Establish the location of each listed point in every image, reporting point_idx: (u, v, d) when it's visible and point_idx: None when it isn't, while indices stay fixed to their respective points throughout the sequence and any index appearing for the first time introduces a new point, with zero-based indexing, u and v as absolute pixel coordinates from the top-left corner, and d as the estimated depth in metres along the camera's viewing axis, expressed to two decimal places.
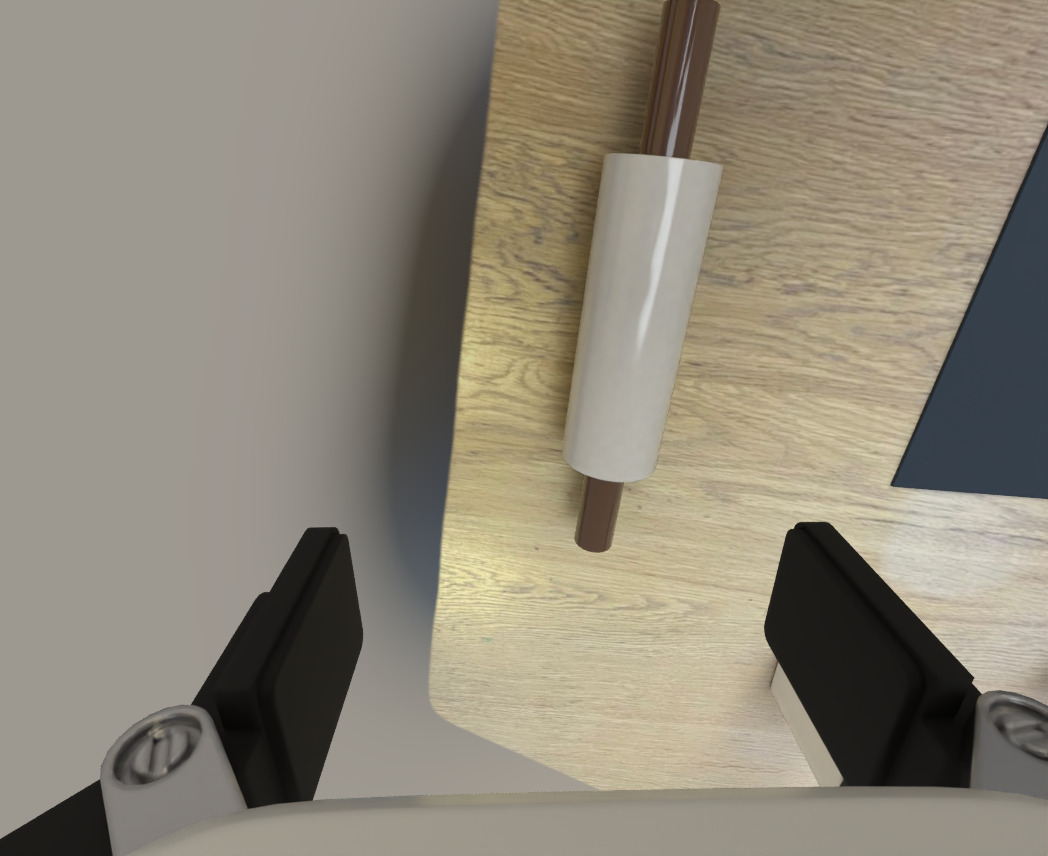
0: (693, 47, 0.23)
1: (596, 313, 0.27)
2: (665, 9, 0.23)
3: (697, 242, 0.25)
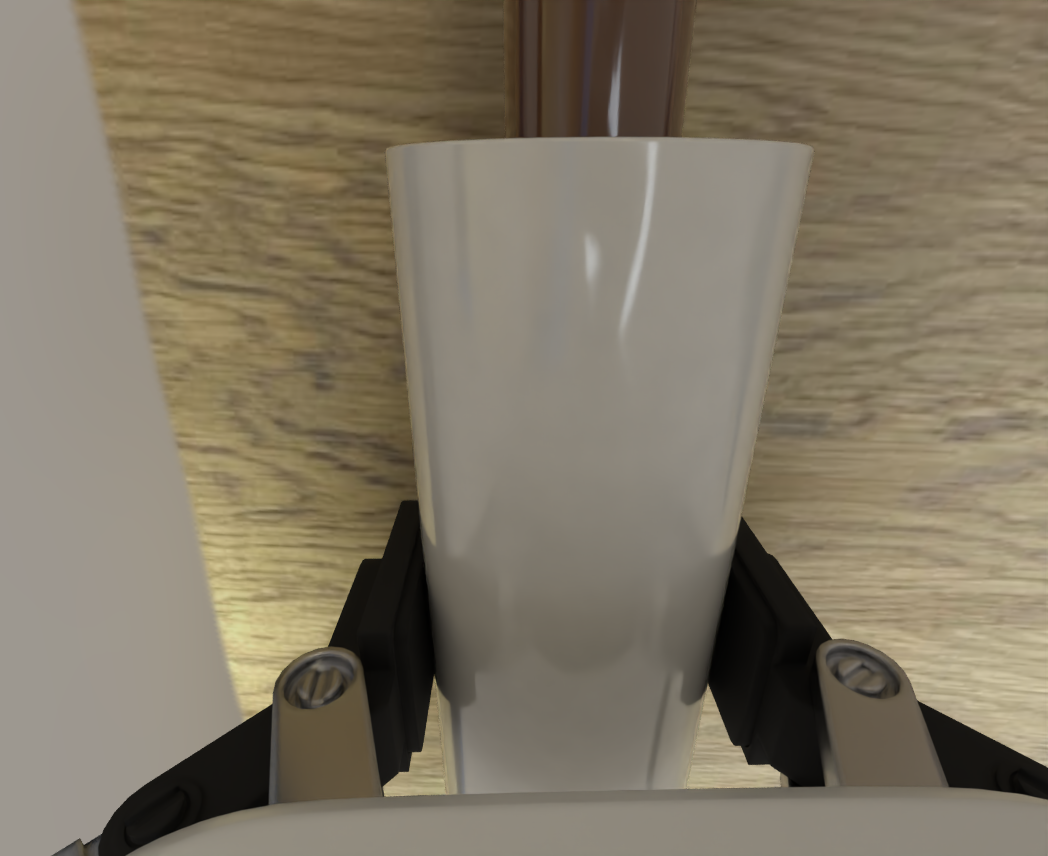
0: None
1: (440, 625, 0.09)
2: None
3: (733, 434, 0.07)
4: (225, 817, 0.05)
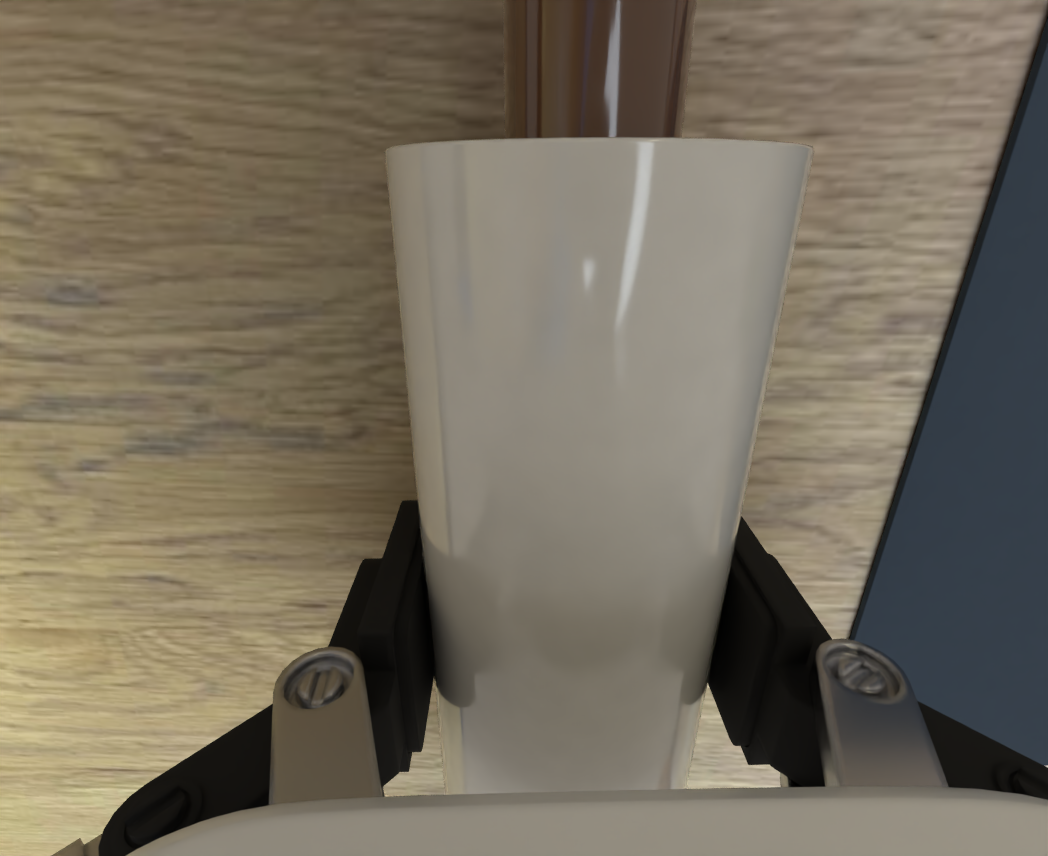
0: None
1: (440, 625, 0.09)
2: None
3: (732, 435, 0.07)
4: (225, 817, 0.05)
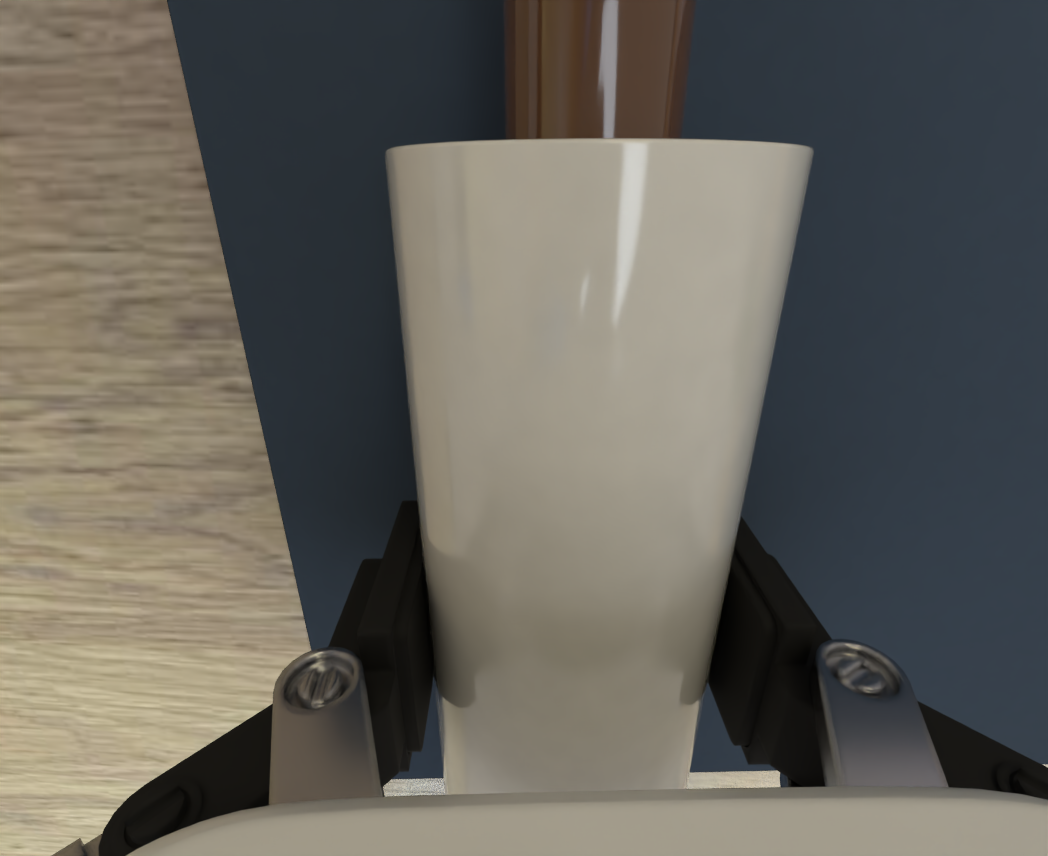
0: None
1: (440, 625, 0.09)
2: None
3: (733, 435, 0.07)
4: (226, 817, 0.05)
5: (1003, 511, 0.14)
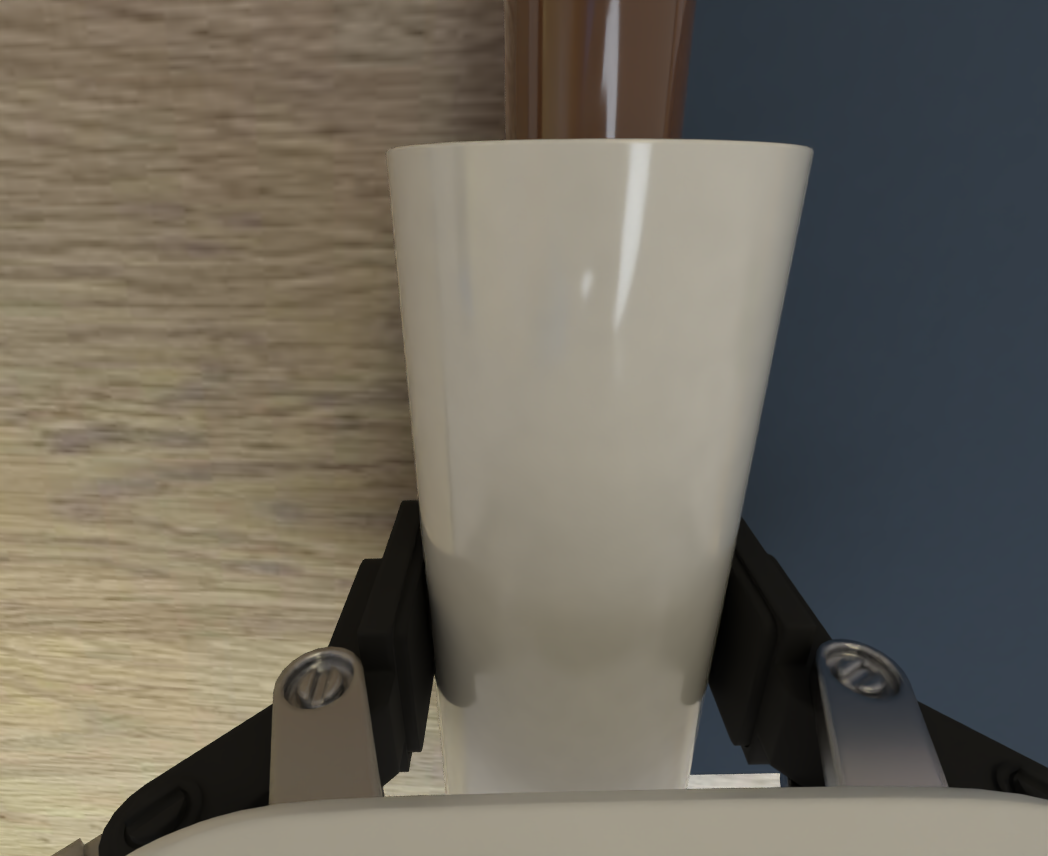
0: None
1: (441, 625, 0.09)
2: None
3: (733, 435, 0.07)
4: (225, 817, 0.05)
5: None
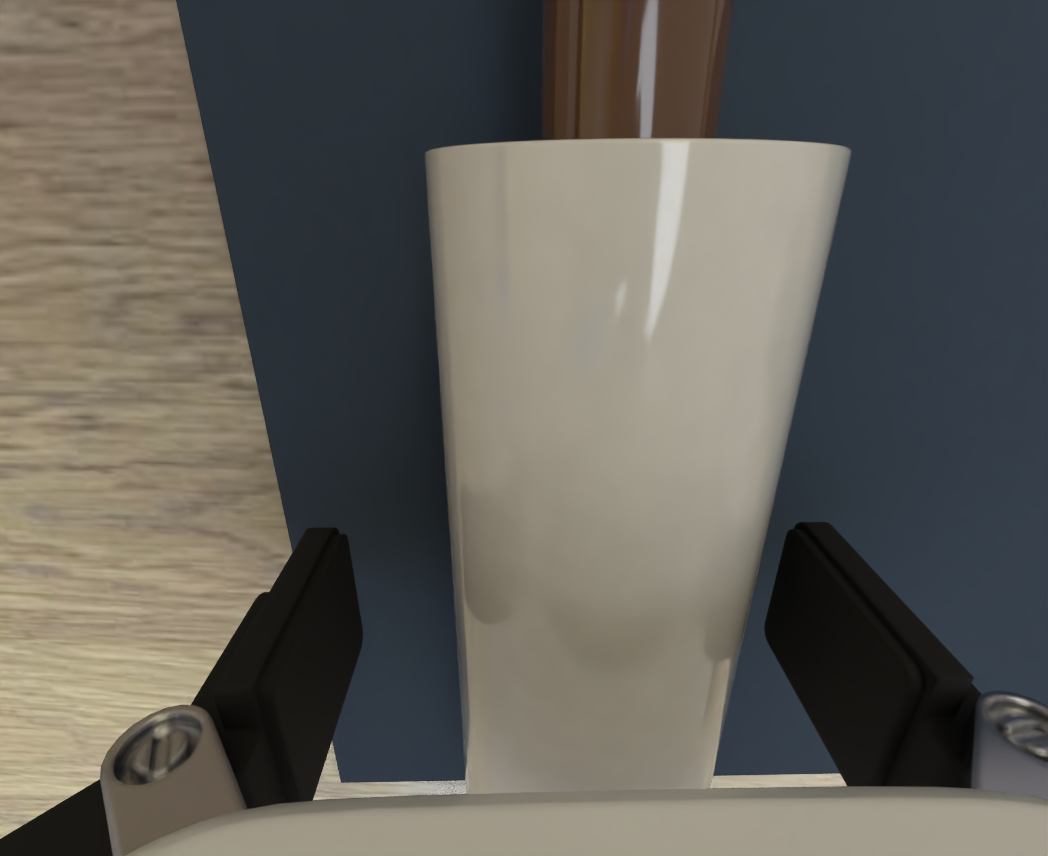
0: None
1: (486, 640, 0.09)
2: None
3: (785, 422, 0.07)
4: (225, 817, 0.05)
5: (1014, 514, 0.14)
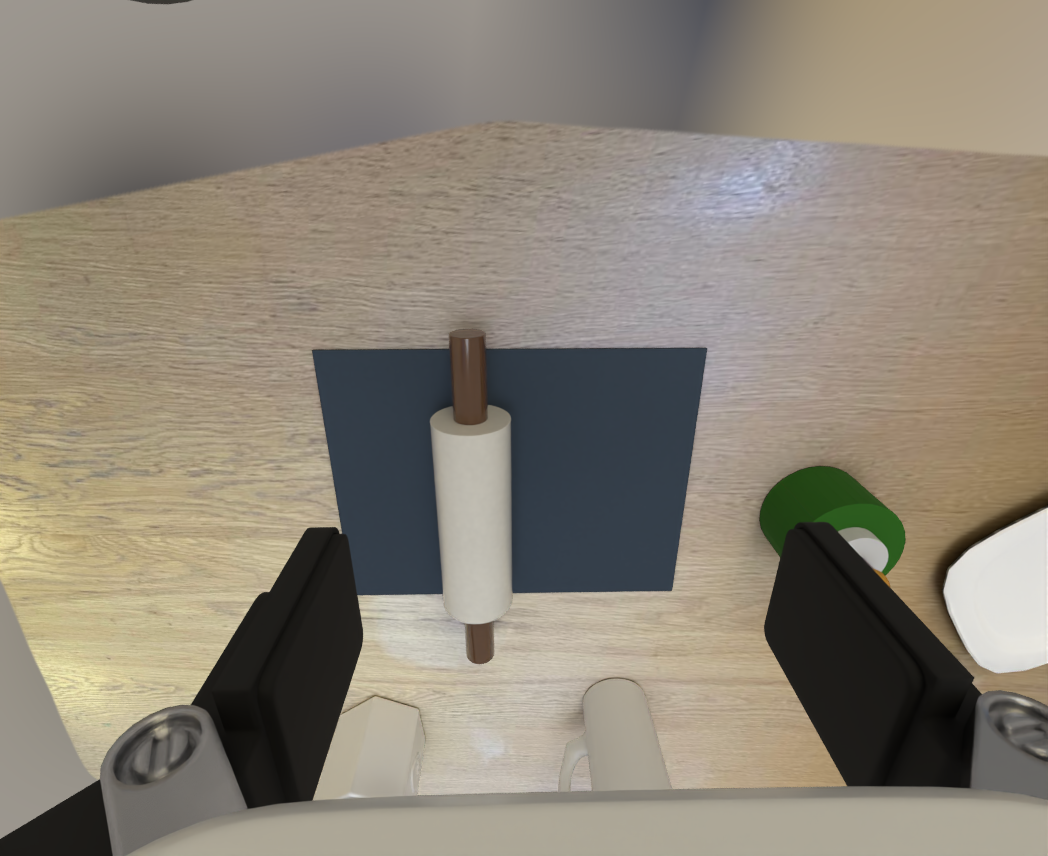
0: None
1: (493, 524, 0.38)
2: (470, 343, 0.34)
3: None
4: (225, 817, 0.05)
5: (564, 495, 0.43)
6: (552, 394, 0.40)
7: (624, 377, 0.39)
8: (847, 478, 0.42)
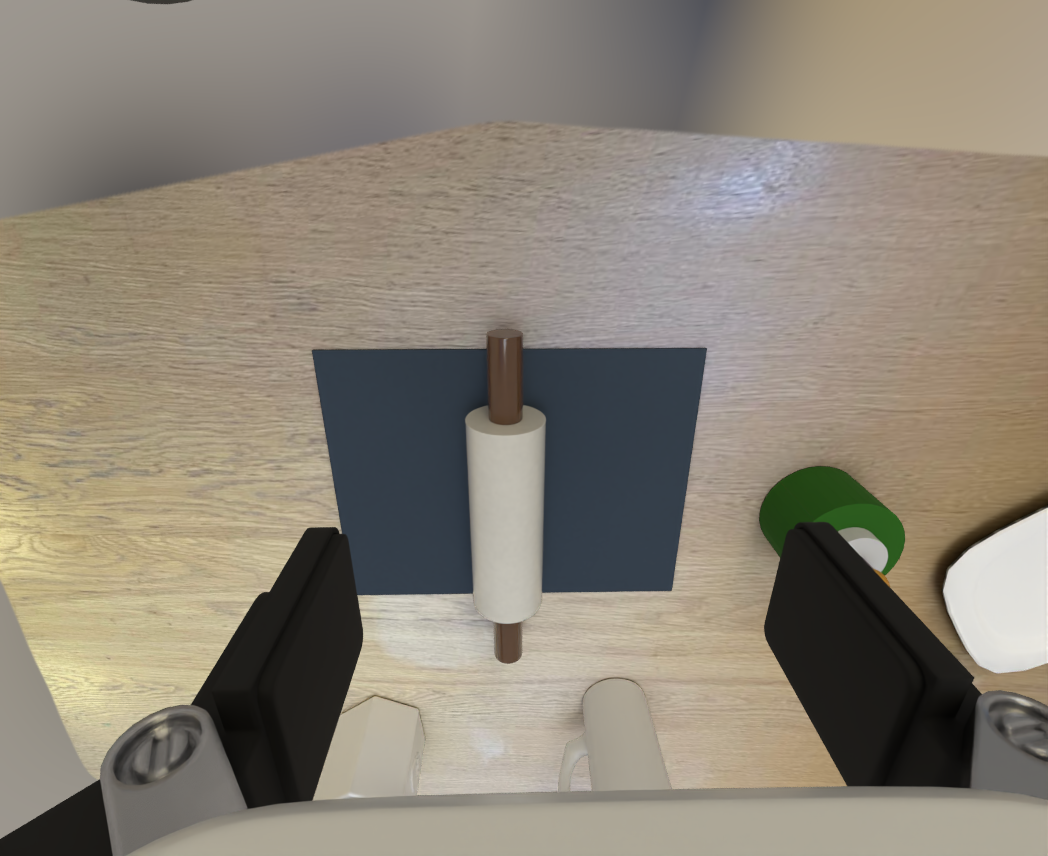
0: None
1: (543, 508, 0.40)
2: (521, 340, 0.35)
3: None
4: (225, 817, 0.05)
5: (564, 495, 0.43)
6: (552, 394, 0.40)
7: (624, 377, 0.39)
8: (847, 478, 0.42)
